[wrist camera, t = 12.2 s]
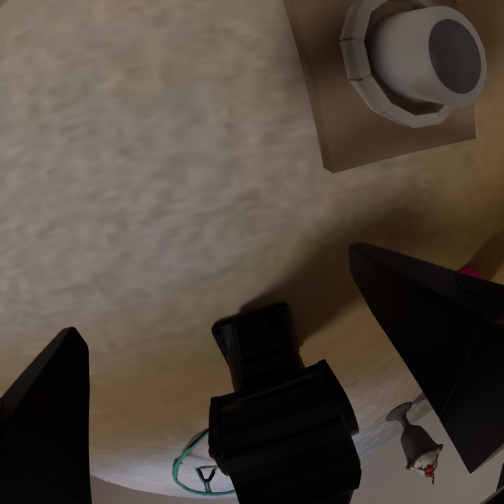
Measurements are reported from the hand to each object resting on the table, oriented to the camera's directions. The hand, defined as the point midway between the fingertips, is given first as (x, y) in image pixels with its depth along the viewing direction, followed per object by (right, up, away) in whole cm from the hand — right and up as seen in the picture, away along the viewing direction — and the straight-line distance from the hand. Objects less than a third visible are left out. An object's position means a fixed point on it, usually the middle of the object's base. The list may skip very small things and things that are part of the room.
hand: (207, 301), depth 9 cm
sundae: (+25, -24, +33) cm, 48 cm away
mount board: (+11, +15, +8) cm, 20 cm away
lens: (+11, +14, +7) cm, 19 cm away
